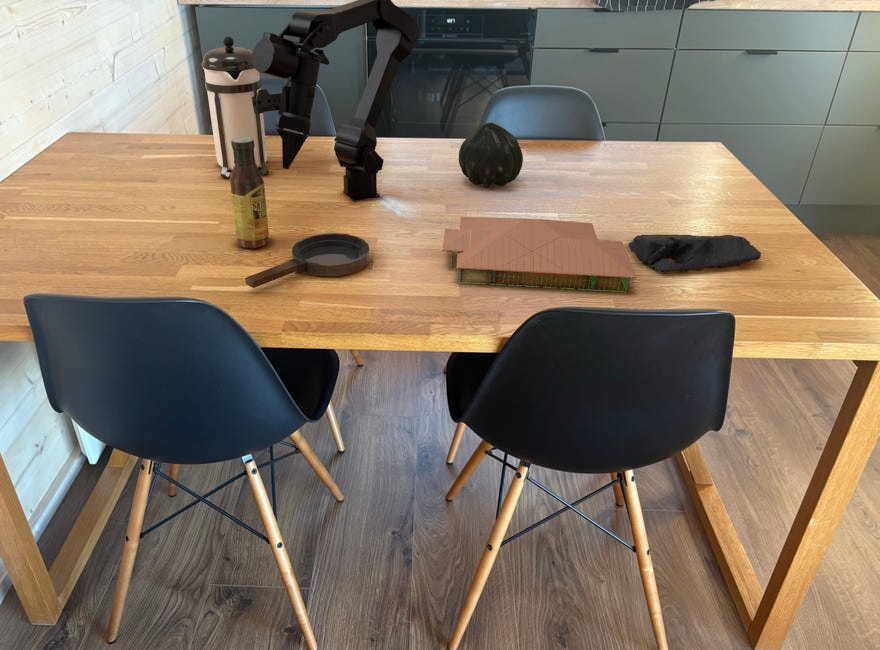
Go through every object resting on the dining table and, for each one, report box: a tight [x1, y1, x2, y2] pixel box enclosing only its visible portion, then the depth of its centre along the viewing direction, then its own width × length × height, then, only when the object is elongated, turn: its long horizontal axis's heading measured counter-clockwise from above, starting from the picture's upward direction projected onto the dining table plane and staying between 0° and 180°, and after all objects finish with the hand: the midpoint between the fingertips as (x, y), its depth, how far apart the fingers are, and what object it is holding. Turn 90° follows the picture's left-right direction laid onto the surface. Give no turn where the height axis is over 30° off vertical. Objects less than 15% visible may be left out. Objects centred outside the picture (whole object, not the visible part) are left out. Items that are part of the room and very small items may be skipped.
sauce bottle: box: [229, 137, 270, 250], centre depth 130 cm, size 6×6×20 cm
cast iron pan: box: [291, 232, 371, 277], centre depth 128 cm, size 14×14×2 cm
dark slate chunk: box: [628, 233, 762, 274], centre depth 131 cm, size 15×22×5 cm
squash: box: [458, 122, 524, 188], centre depth 162 cm, size 14×15×15 cm
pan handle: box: [244, 258, 306, 289], centre depth 121 cm, size 11×3×2 cm, turn 135°
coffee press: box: [201, 36, 270, 179], centre depth 164 cm, size 17×16×30 cm
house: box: [441, 216, 637, 293], centre depth 128 cm, size 23×33×8 cm
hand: (286, 166), depth 137 cm, fingers open, 9 cm apart
